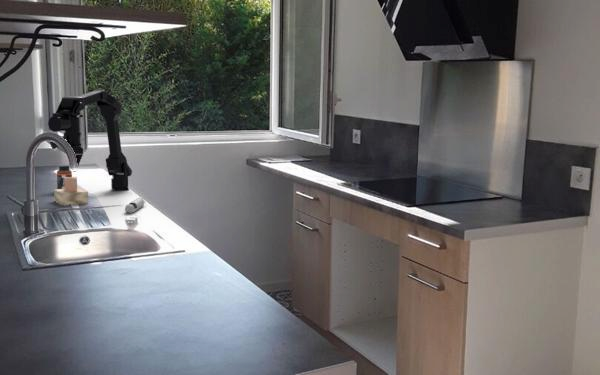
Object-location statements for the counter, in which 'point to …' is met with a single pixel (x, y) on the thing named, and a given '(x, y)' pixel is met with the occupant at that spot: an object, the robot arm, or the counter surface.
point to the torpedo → (134, 205)
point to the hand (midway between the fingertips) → (73, 169)
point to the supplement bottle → (62, 175)
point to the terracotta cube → (70, 184)
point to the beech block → (71, 196)
